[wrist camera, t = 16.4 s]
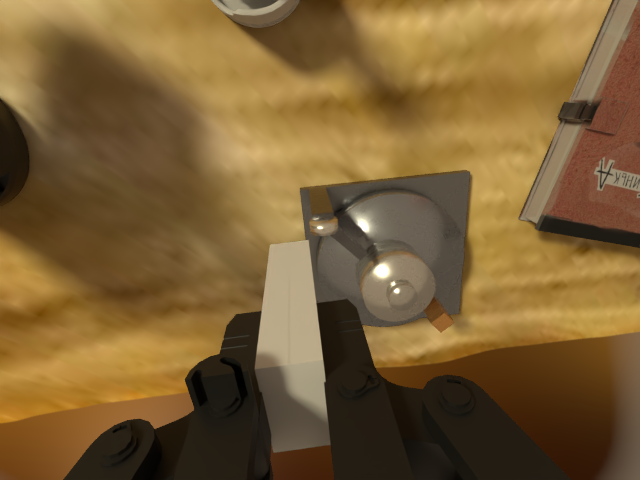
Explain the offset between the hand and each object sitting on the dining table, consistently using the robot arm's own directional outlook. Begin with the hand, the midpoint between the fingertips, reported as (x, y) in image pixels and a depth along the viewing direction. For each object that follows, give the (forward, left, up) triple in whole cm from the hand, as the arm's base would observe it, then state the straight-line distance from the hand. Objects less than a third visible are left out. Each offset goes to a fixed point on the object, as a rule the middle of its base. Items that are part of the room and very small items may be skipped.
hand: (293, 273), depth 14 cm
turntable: (+10, -14, -27) cm, 32 cm away
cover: (+10, -14, -25) cm, 30 cm away
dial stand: (+3, -7, -27) cm, 29 cm away
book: (+39, -1, -29) cm, 49 cm away
